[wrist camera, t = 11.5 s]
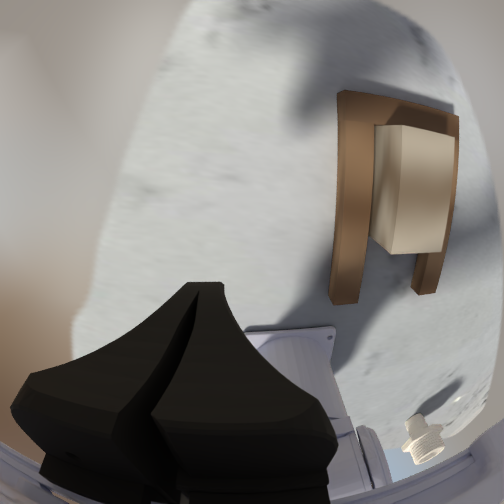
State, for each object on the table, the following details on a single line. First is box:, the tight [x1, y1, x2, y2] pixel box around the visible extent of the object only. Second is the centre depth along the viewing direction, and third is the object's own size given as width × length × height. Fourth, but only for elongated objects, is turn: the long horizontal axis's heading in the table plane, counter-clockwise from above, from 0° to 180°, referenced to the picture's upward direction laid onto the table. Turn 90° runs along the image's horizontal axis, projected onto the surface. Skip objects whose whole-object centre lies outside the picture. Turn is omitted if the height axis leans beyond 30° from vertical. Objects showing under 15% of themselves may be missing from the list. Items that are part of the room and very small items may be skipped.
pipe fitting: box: [401, 413, 445, 465], centre depth 28 cm, size 6×7×8 cm
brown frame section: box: [328, 90, 459, 305], centre depth 18 cm, size 15×10×2 cm, turn 2°
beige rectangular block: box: [368, 125, 455, 254], centre depth 16 cm, size 8×4×4 cm, turn 1°
